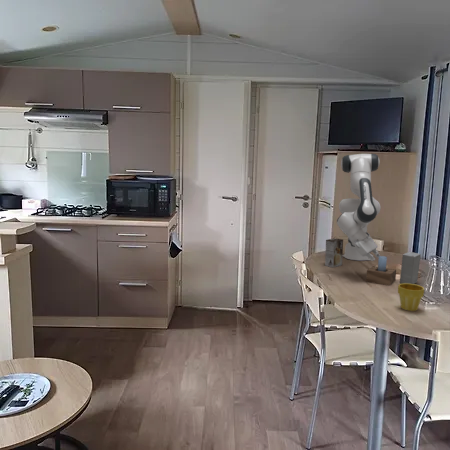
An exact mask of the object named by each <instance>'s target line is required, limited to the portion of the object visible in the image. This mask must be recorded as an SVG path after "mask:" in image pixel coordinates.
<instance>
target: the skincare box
mask: <svg viewBox="0 0 450 450" xmlns="http://www.w3.org/2000/svg"><path fill="white" fill-rule="evenodd" d="M421 256H422V255H421V253H417V252H413V251H408V252H405V253H403V254H402V258H401V265H400V267H401V268H400V276H399V283H400V284H403V283H409V284H417V283H418V280H419V271H420V264H421V263H420V262H421Z"/></svg>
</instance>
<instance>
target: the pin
mask: <svg viewBox="0 0 450 450" xmlns="http://www.w3.org/2000/svg"><path fill="white" fill-rule="evenodd" d="M377 260H378V261H377V262H378V263H377V267H378V271H383V272H386V268H387V261H388V257H387V256H384V255H380V256H379V258H378V259H377Z"/></svg>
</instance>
